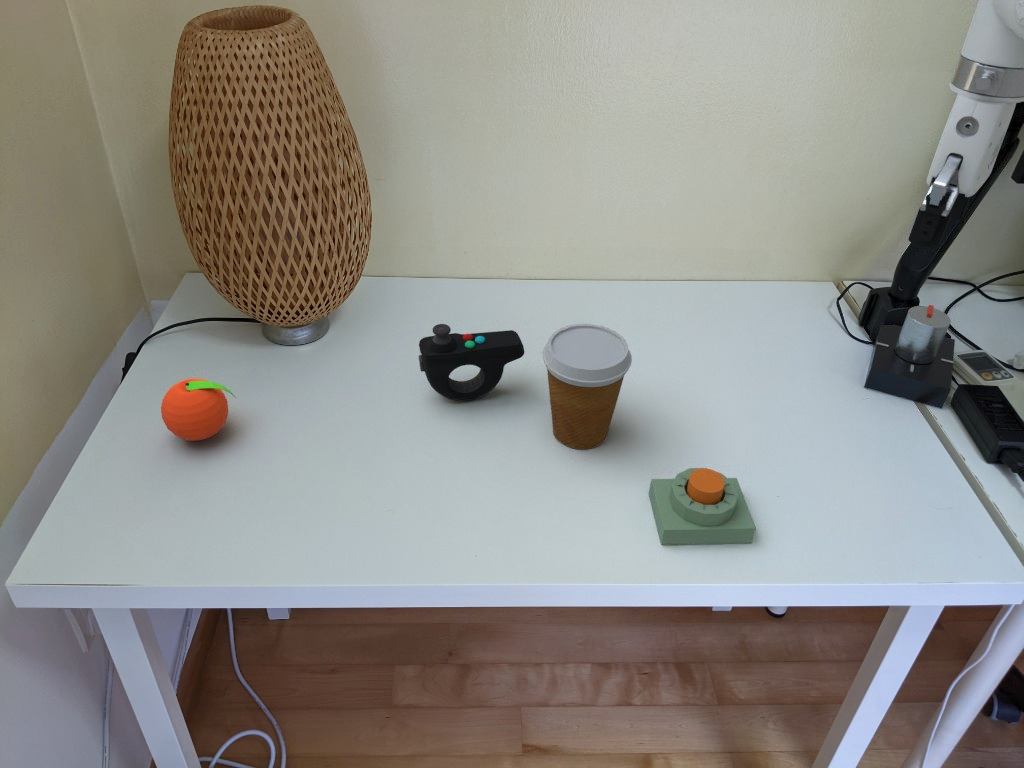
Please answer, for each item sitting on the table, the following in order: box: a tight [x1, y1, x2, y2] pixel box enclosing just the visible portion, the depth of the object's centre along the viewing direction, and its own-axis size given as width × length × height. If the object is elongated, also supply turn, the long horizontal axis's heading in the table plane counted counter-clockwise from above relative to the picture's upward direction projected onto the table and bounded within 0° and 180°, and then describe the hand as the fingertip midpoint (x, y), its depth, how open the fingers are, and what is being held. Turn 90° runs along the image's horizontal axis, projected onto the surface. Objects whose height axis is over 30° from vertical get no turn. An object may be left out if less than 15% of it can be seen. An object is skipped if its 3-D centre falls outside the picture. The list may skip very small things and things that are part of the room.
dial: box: [894, 304, 952, 364], centre depth 96 cm, size 5×5×6 cm
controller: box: [418, 323, 525, 401], centre depth 91 cm, size 4×12×10 cm, turn 102°
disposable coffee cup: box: [542, 323, 633, 450], centre depth 86 cm, size 10×10×12 cm
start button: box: [687, 467, 725, 505], centre depth 76 cm, size 3×3×2 cm
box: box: [648, 467, 757, 546], centre depth 78 cm, size 9×7×4 cm
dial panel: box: [863, 324, 956, 410], centre depth 98 cm, size 12×9×3 cm
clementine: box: [160, 377, 237, 442], centre depth 86 cm, size 8×7×7 cm
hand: (935, 229), depth 90 cm, fingers open, 9 cm apart
